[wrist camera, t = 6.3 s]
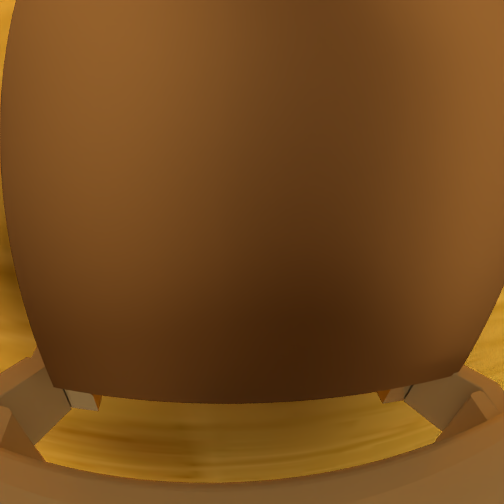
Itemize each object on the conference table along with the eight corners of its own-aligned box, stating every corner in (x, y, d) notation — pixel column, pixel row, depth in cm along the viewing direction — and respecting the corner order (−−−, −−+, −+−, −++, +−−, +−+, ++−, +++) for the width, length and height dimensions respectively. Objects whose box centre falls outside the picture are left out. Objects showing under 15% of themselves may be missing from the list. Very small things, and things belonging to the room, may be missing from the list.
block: (433, 22, 7) (545, 7, 3) (384, 284, 11) (457, 374, 7) (124, -35, 6) (65, -121, 1) (105, 274, 10) (53, 387, 5)
